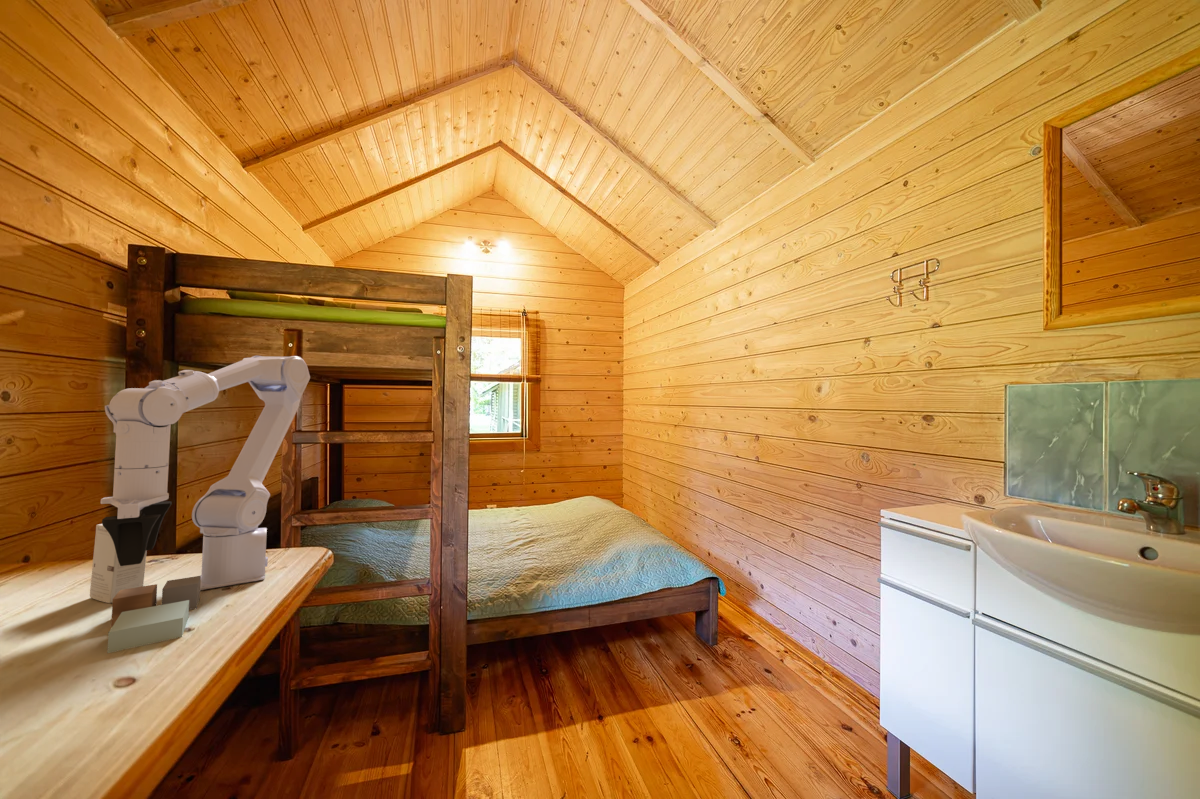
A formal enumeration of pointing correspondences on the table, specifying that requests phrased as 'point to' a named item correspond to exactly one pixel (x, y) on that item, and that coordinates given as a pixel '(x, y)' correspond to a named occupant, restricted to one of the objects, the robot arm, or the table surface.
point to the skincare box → (111, 569)
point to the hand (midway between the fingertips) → (137, 557)
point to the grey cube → (182, 591)
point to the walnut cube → (133, 600)
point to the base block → (148, 626)
